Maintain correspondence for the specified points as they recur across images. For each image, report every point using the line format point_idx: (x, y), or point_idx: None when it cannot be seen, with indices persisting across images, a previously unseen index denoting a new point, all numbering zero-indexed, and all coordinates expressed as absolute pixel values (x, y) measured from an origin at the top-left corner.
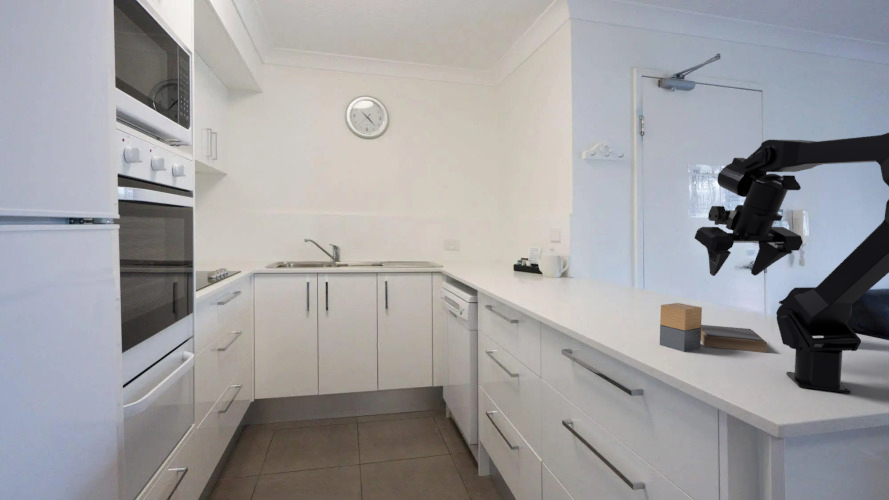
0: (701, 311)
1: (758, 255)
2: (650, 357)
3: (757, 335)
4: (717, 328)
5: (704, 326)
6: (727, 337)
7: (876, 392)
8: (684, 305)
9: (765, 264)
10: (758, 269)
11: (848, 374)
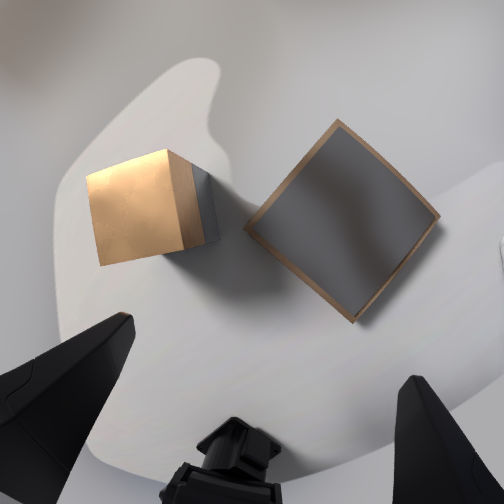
0: (187, 248)
1: (446, 488)
2: (76, 261)
3: (385, 277)
4: (349, 179)
5: (332, 148)
6: (290, 262)
7: (287, 478)
8: (149, 202)
9: (394, 491)
10: (400, 437)
11: (344, 436)
